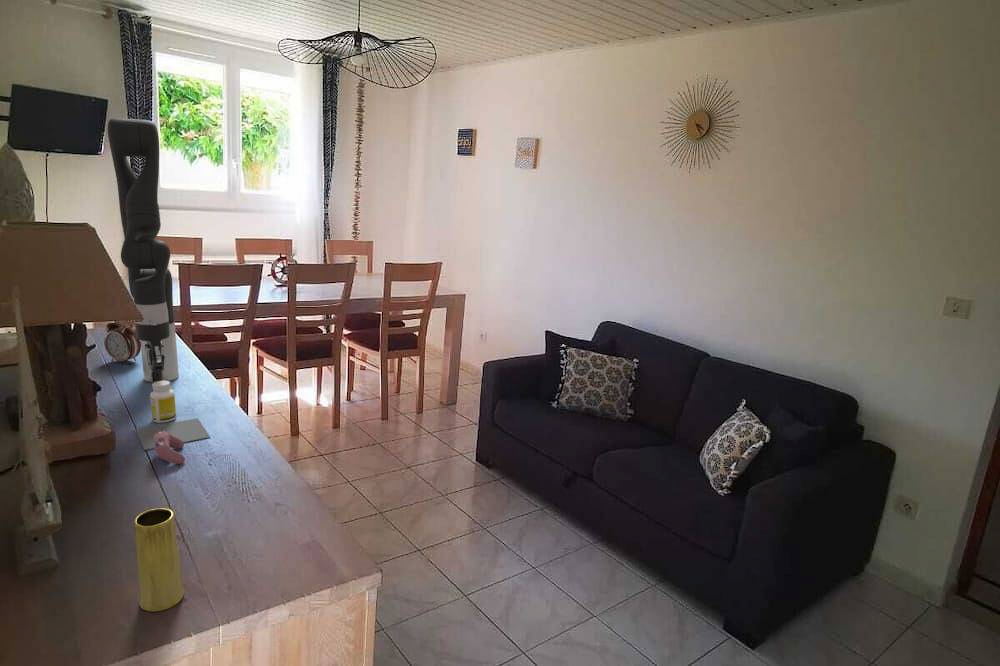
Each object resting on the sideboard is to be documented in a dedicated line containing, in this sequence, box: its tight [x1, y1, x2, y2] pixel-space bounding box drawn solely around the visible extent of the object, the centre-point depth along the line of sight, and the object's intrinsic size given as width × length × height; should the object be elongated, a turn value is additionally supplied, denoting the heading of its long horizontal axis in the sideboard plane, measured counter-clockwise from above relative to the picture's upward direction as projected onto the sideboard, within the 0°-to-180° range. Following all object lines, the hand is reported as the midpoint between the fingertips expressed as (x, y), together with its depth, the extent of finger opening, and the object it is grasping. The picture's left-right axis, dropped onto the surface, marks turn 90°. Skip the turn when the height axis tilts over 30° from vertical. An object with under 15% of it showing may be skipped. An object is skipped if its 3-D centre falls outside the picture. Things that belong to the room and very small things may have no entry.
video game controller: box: [153, 430, 186, 465], centre depth 140 cm, size 10×5×7 cm, turn 28°
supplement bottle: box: [149, 381, 177, 424], centre depth 159 cm, size 5×5×10 cm
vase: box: [133, 507, 185, 612], centre depth 95 cm, size 6×6×14 cm
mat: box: [135, 417, 211, 451], centre depth 152 cm, size 13×14×1 cm
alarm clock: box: [103, 322, 141, 365], centre depth 198 cm, size 11×5×15 cm, turn 73°
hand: (157, 384), depth 162 cm, fingers closed
